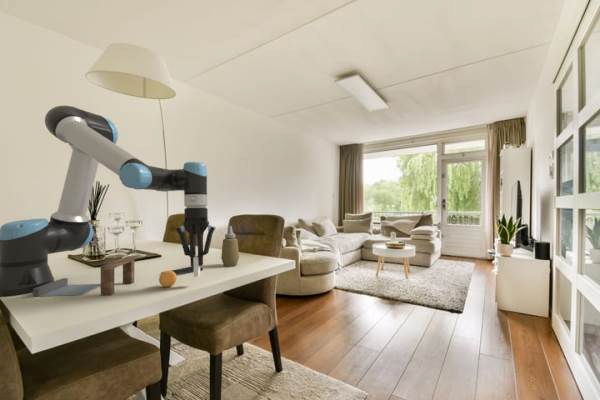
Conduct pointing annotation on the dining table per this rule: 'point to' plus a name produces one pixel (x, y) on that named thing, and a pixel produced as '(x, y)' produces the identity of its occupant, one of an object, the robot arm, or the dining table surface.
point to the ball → (167, 278)
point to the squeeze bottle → (230, 249)
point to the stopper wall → (50, 287)
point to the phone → (184, 270)
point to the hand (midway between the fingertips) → (197, 275)
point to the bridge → (108, 274)
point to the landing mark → (72, 290)
